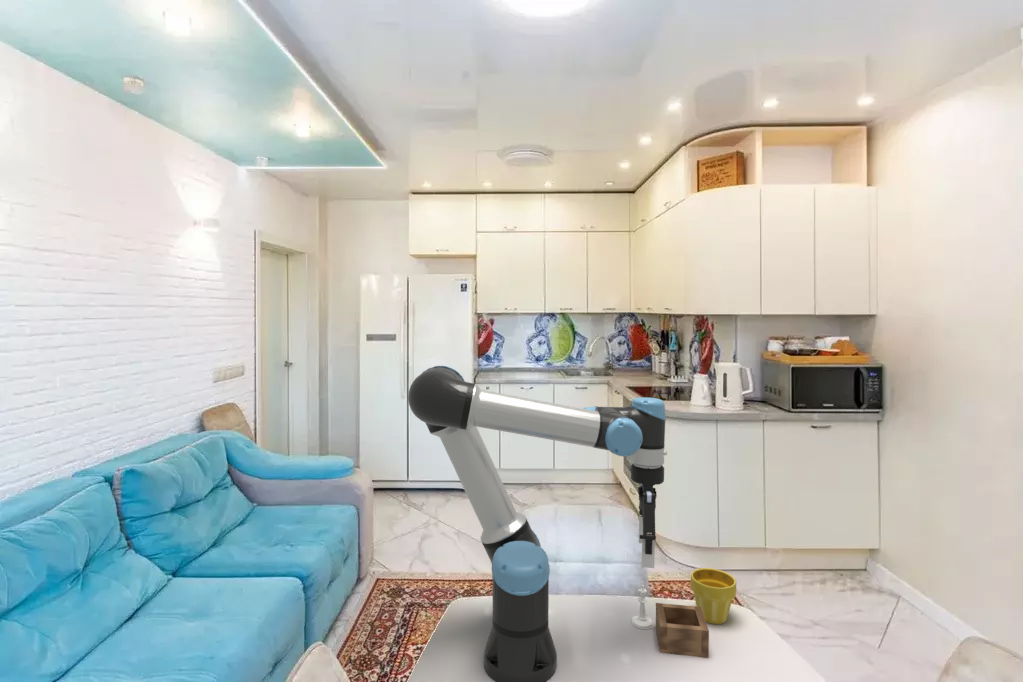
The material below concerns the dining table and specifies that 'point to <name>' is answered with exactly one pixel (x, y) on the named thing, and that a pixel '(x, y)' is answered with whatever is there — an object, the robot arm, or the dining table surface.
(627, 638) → the dining table surface
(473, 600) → the dining table surface
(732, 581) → the plant pot
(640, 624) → the chess piece
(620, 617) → the dining table surface
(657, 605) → the walnut holder
